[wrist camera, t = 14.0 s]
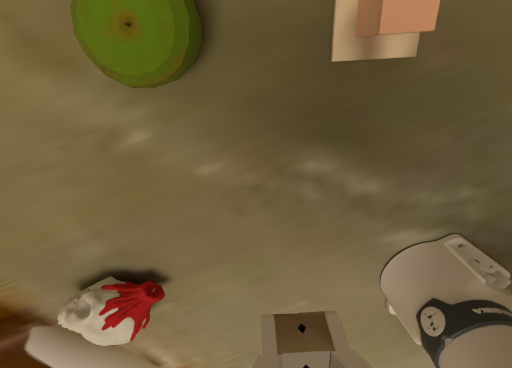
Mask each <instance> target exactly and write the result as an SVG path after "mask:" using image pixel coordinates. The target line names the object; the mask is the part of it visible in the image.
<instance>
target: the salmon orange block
mask: <svg viewBox="0 0 512 368" xmlns="http://www.w3.org/2000/svg"><path fill="white" fill-rule="evenodd" d="M439 4H440V0H358V10H357V21H356V33H355V37H368V36H384V35H400V34H409V33H418V32H427V31H434V29H435V24H436V19H437V14H438V9H439Z"/></svg>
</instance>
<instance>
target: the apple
mask: <svg viewBox="0 0 512 368" xmlns="http://www.w3.org/2000/svg"><path fill="white" fill-rule="evenodd" d="M71 14H72V21H73V28H74V34H75V36H76V38H77V39H78V41H79V43H80V45H81V46H82V48H83V50H84V52H85V54H86V55H87V57H88V58H89V59H90V60H91V61H92V62H93V63H94V64H95V65H96V66H97V67H98V68H99V69H100V70H101V71H102V72H103V73H104V74H105V75H106V76H108V77H110V78H112V79H114V80H116V81H118V82H120V83H122V84H124V85H126V86H129V87H132V88H155V87H158V86H160V85H163V84H166V83H169V82H172V81H174V80H177V79H180V77H181V76H182V75H183V74H184V73H185V72H186V71H187V70H188V69H189V68H190V67H191V66H192V65H193V63H194V62H195V60H196V58H197V55H198V53H199V50H200V47H201V45H202V27H201V20H200V17H199V14H198V11H197V8H196V5H195V2H194V0H72V3H71Z"/></svg>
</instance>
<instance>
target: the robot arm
mask: <svg viewBox="0 0 512 368" xmlns="http://www.w3.org/2000/svg"><path fill="white" fill-rule="evenodd" d="M509 279H510V273H509V272H508V271H507V270H506V269H505V268H504V267H502V266H501V265H500V264H498V263H497V262H496V261H494V260H493V259H492V258H490V257H489V256H488V255H486V254H485V253H483V252H482V251H481V250H479V249H478V248H477V247H475V246H474V245H473V244H471V243H470V242H469V241H467V240H466V239H465V238H463V237H462V236H461V235H459V234H452V235H449V236H447V237H444V238H442V239H440V240H438V241H434V242H428V243H422V244H418V245H415V246H412V247H410V248H408V249H406V250H404V251H402V252H401V253H399V254H398V255H396V256H395V257H394V258H393V259H392V260H391V261H390V262H389V263H388V264H387V266H386V267H385V269H384V271H383V273H382V276H381V289H382V291H383V293H384V294H385V296H386V299H387V301H386V307H387V309H388V311H389V312H390V313H391V314H394V315H397V316H398V318H399V319H400V321H401V322H402V324H403V325H404V327H405V328H406V329H407V331H408V332H409V334H410V335H411V337H412V338H413V340H414V341H415V342H416V343H417V344H420V345H422V346H423V347H424V349H425V351H426V353H427V355H428V357H429V359H430V360H431V361H432V363H433V364H434V365H435V367H436V368H512V293H511V292H510V291H509V290H508V289H506V288H505V287H507V286H508V285H510V284H511V281H510V280H509ZM261 326H262V348H263V355H260V356H259V357H258V358H257V360H256V362H255V364H254V365H253V367H252V368H372V367H371V366H370V365H369V364H368V363H367V362H366V361H365V360H364V359H363V358H362V357H361V356H360V355H359V354H358V353H357V352H356V351H355V350H350V348H349V345H348V342H347V339H346V336H345V333H344V330H343V327H342V324H341V321H340V318H339V315H338V313H337V312H336V311H324V312H323V311H319V312H306V313H298V314H269V315H261Z"/></svg>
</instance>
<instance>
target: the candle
mask: <svg viewBox="0 0 512 368" xmlns="http://www.w3.org/2000/svg"><path fill="white" fill-rule="evenodd" d="M164 296H165V293H164V291H163V289H162V287H161V286H160V285H157V284H156V283H154V282H150V281H146V282H144V283H142V284H140V285H139V284H136V283H132V282H128V281H124V282H123V281H119V280H116V279H115V278H113V277H112V276H110V277H108V278H106V279H104V280H101V281H99V282H97V283H95V284H94V285H92V286H89V287H88V288H87V289H84V290H82V291H81V292H80V293H79V294H78V295H76V296H75V297H73V298H70V299H69V300H68V301H67V302H66V303H65V304H64V306H63V307H62V309H61V310H60V312H59V314H58V318H57V319H58V320H59V322H58V324H62V325H61V326H62V327H65V328H68V329H69V330H74V331H75V332H78V333H81V334H82V335H83V337H84V338H85V339H87V340H89V341H90V342H92V343H94V344H98V345H102V346H109V345H119V344H125V343H127V342H129V341H130V342H131V341H132V340H133V339H134V338H135V337H136V336H137V335H138V333H139V332H140V330H141V329H142V328H144V329H145V327H146V325H147V324H148V322H149V320H150V308H151V305H152V304H153V303H155V302H158V301H160V300H162V299H163V298H164Z"/></svg>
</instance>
